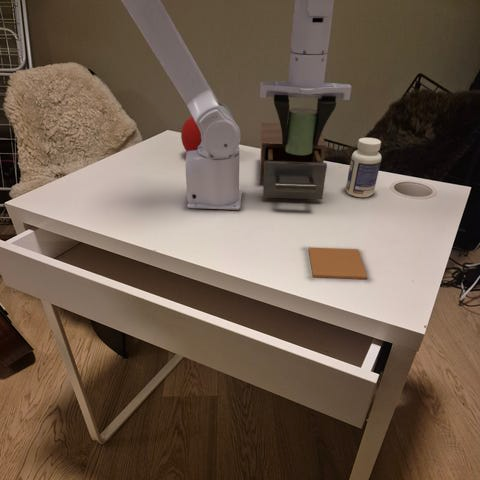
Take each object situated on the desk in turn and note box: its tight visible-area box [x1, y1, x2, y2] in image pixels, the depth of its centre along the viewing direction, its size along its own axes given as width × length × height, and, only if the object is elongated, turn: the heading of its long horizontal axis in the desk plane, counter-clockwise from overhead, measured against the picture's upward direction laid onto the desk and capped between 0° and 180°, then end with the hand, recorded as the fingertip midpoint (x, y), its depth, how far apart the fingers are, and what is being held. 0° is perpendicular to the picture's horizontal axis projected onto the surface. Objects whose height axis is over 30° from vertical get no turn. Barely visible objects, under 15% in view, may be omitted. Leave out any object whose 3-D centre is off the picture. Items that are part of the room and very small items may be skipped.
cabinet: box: [259, 122, 327, 186], centre depth 86 cm, size 14×12×8 cm
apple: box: [180, 116, 202, 153], centre depth 93 cm, size 9×9×10 cm
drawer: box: [262, 147, 328, 200], centre depth 78 cm, size 17×11×6 cm, turn 177°
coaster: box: [308, 246, 368, 280], centre depth 61 cm, size 8×8×1 cm
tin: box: [285, 107, 318, 155], centre depth 71 cm, size 5×5×6 cm
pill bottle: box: [345, 137, 382, 198], centre depth 78 cm, size 5×5×10 cm
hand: (299, 143), depth 73 cm, fingers closed on tin, 5 cm apart
